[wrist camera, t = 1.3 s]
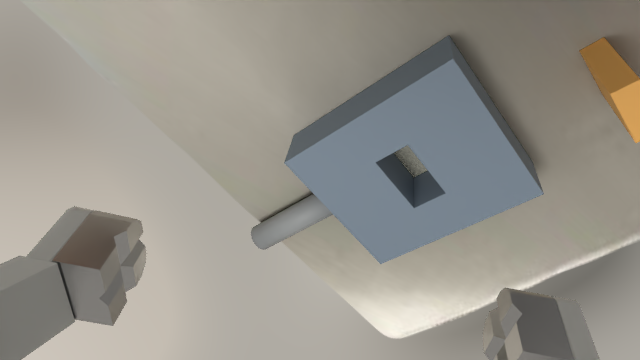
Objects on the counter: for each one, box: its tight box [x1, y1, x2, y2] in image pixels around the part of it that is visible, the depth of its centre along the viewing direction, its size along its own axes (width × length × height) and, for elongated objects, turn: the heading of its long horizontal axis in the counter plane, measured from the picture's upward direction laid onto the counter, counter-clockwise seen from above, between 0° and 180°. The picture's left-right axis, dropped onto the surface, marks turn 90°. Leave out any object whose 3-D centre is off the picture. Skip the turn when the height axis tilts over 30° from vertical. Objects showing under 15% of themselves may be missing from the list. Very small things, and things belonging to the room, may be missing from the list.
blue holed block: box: [251, 36, 544, 264], centre depth 50 cm, size 30×16×5 cm, turn 129°
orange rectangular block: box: [580, 37, 640, 143], centre depth 39 cm, size 5×2×8 cm, turn 39°
